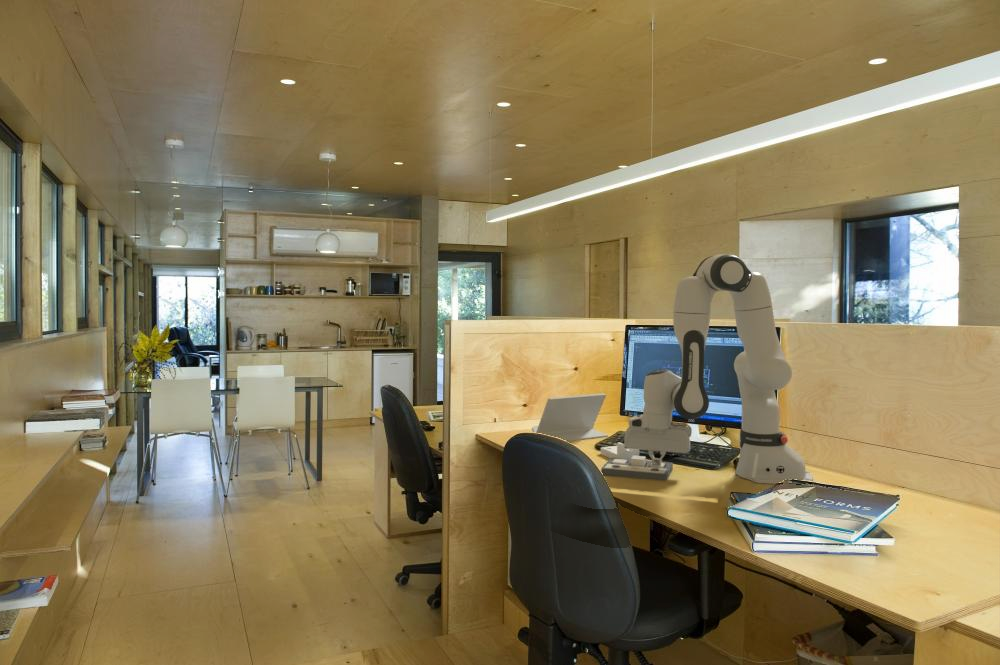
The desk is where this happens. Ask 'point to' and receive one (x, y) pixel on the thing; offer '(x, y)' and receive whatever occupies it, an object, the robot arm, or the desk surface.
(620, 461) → the button far
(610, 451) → the bracket
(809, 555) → the desk surface
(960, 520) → the desk surface
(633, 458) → the button middle
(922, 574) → the desk surface
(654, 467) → the button near
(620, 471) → the button panel
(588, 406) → the tablet stand
